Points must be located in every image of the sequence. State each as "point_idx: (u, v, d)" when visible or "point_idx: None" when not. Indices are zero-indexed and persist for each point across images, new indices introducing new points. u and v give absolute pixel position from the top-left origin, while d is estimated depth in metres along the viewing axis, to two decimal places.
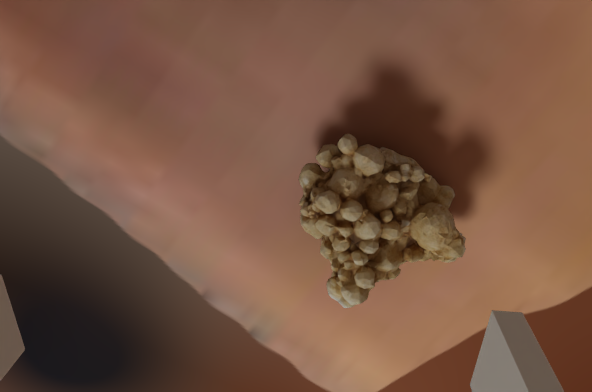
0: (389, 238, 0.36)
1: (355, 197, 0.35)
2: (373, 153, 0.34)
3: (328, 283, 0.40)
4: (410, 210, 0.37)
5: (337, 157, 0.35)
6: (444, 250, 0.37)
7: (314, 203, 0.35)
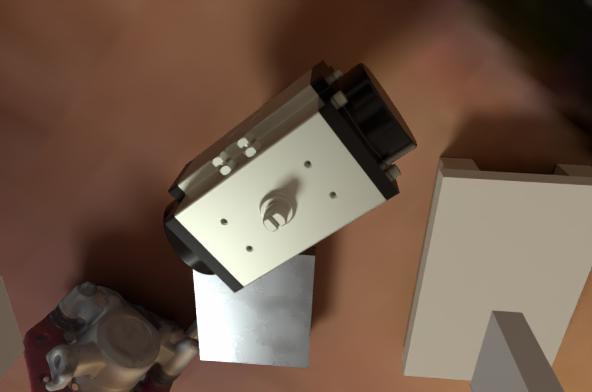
0: None
1: None
2: None
3: None
4: None
5: None
6: None
7: None
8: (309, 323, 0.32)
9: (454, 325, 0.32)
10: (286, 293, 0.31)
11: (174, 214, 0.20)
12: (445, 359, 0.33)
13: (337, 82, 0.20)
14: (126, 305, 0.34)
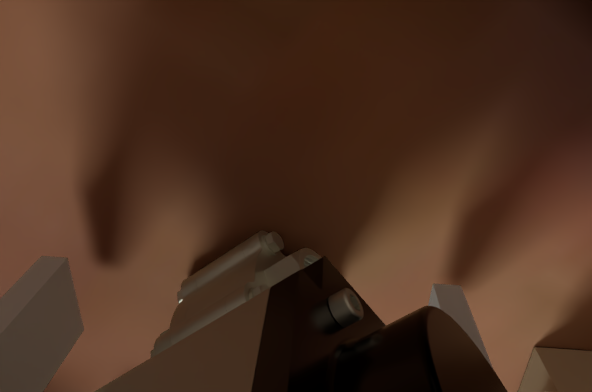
0: None
1: None
2: None
3: None
4: None
5: None
6: None
7: None
8: None
9: None
10: None
11: None
12: None
13: None
14: None
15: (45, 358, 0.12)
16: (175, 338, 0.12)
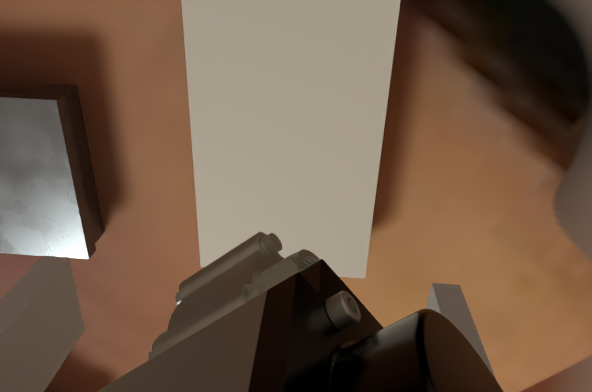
0: None
1: None
2: None
3: None
4: None
5: None
6: None
7: None
8: (74, 197, 0.27)
9: (243, 196, 0.26)
10: (36, 155, 0.26)
11: None
12: None
13: None
14: None
15: (46, 357, 0.12)
16: (173, 340, 0.12)
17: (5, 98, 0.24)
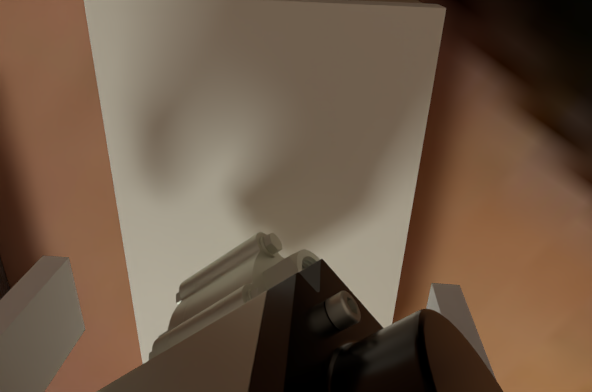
0: None
1: None
2: None
3: None
4: None
5: None
6: None
7: None
8: None
9: None
10: None
11: None
12: None
13: None
14: None
15: (46, 357, 0.12)
16: (173, 340, 0.12)
17: None
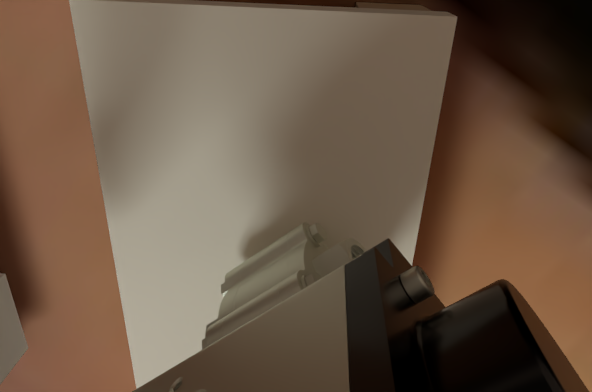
0: None
1: None
2: None
3: None
4: None
5: None
6: None
7: None
8: None
9: (196, 325, 0.17)
10: None
11: None
12: None
13: (438, 375, 0.06)
14: None
15: None
16: (228, 326, 0.12)
17: None
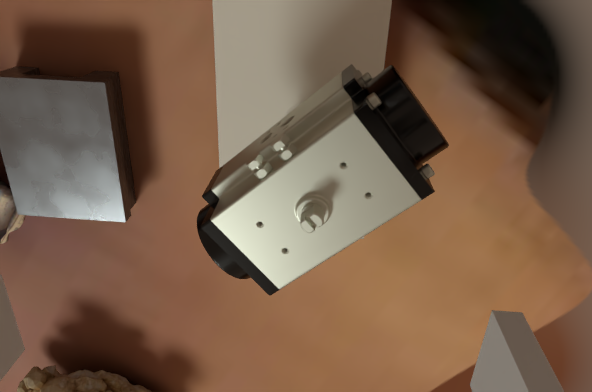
0: None
1: None
2: None
3: None
4: None
5: None
6: None
7: None
8: (116, 167, 0.32)
9: None
10: (85, 130, 0.30)
11: (210, 218, 0.20)
12: None
13: (368, 85, 0.20)
14: None
15: None
16: None
17: (62, 81, 0.29)
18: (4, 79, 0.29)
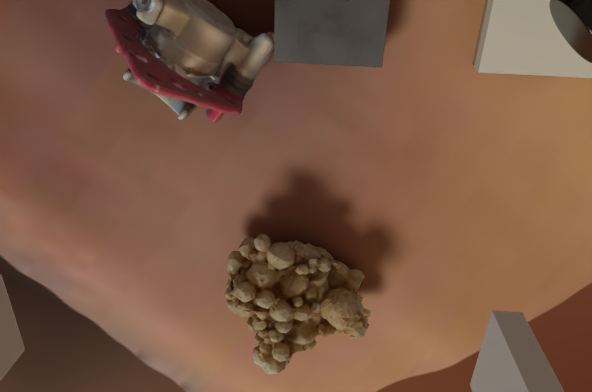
0: (300, 320, 0.42)
1: (269, 287, 0.41)
2: (282, 252, 0.40)
3: (253, 352, 0.46)
4: (320, 295, 0.43)
5: (255, 251, 0.41)
6: (349, 329, 0.43)
7: (233, 292, 0.40)
8: (388, 4, 0.32)
9: None
10: None
11: None
12: (522, 47, 0.33)
13: None
14: None
15: None
16: None
17: None
18: None
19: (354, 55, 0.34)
